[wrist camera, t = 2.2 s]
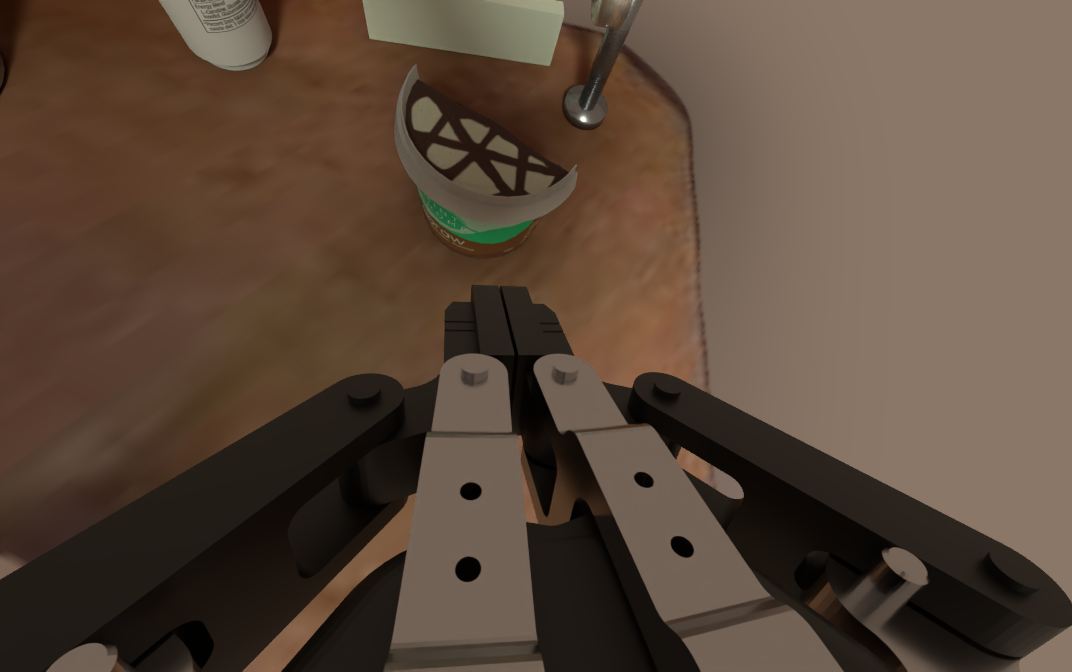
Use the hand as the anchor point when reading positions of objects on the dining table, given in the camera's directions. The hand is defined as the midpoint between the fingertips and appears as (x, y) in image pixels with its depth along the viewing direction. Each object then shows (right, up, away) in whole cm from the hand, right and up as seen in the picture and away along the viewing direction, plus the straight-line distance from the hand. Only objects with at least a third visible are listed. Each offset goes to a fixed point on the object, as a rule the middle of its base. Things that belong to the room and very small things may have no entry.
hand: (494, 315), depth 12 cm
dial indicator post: (+6, +20, +27) cm, 34 cm away
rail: (-5, +26, +26) cm, 37 cm away
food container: (-5, +8, +22) cm, 24 cm away
